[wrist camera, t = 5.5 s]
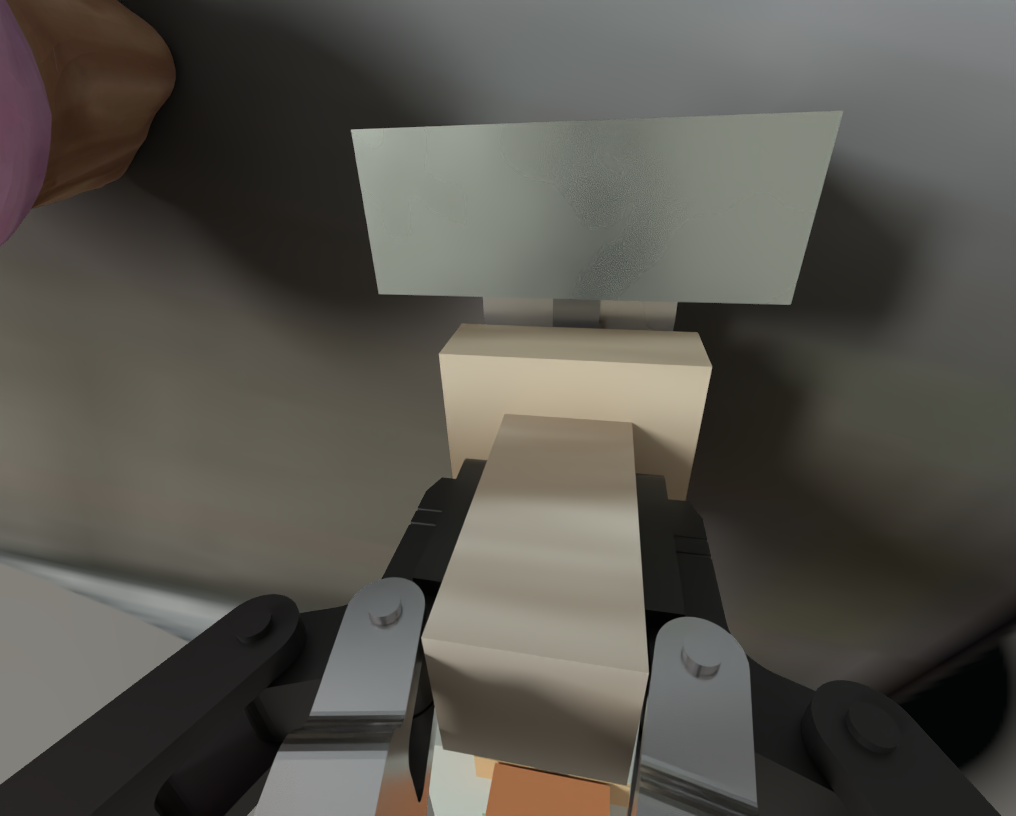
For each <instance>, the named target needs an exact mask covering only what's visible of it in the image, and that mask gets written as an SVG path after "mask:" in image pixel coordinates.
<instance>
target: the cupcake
mask: <svg viewBox="0 0 1016 816" xmlns="http://www.w3.org/2000/svg"><path fill="white" fill-rule="evenodd" d="M175 79H176V77H175V65H174V61H173V58H172V55H171V53H170V50H169V48H168V46H167V45H166V43H165V41H164V40H163V38H162V37H161V36H160V35H159V34H158V33H157V31H156V30H155V29H154V28H153V27H152V26H151V25H149V24H148V23H147V22H146V21H144V20H143V19H142V18H140V17H139V16H138V15H136V14H135V13H133V12H132V11H130V10H129V9H128V8H126V7H125V6H124V5H123V4H121V3H120V2H119V1H118V0H0V246H1V245H2V244H3V243H5V242H6V241H7V240H8V239H9V238H10V237H11V235H12V234H13V233H14V232H15V231H16V229H17V228H18V226H19V225H20V223H21V222H22V220H23V219H24V218H25V216H26V215H27V214H28V213H29V211H30V209H32V208H36V207H40V206H44V205H48V204H51V203H55V202H58V201H62V200H66V199H68V198H70V197H72V196H74V195H77V194H79V193H82V192H85V191H89V190H94V189H98V188H101V187H103V186H104V185H106V184H108V183H111V182H113V181H116V180H117V179H119V178H121V177H122V175H123V174H124V173H125V172H126V170H127V168H128V167H129V165H130V163H131V162H132V160H133V158H134V156H135V154H136V152H137V151H138V149H139V148H140V146H141V145H142V143H143V142H144V141H145V139H146V138H147V135H148V131H149V128H150V125H151V122H152V120H153V118H154V116H155V114H156V113H157V111H158V110H159V109H160V108H161V106H162V105H163V104H164V103H165V101H166V100H167V99H168V98H169V96H170V95H171V92H172V90H173V88H174V84H175Z"/></svg>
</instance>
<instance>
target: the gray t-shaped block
mask: <svg viewBox="0 0 1016 816" xmlns="http://www.w3.org/2000/svg"><path fill="white" fill-rule="evenodd" d="M842 114H843V111H824V112H797V113H771V114H745V115H719V116H693V117H667V118H641V119H614V120H588V121H562V122H536V123H510V124H484V125H457V126H431V127H405V128H379V129H353V130H351V133H352V139H353V145H354V151H355V157H356V163H357V168H358V174H359V180H360V186H361V192H362V198H363V204H364V210H365V216H366V222H367V228H368V234H369V239H370V245H371V251H372V257H373V263H374V269H375V275H376V281H377V287H378V293H379V294H394V295H433V296H471V297H483V306H484V323H485V325H512V326H539V327H567V328H594V329H622V330H650V331H673V330H674V323H675V317H676V310H677V303H678V302H703V303H741V304H780V305H791V302H792V298H793V294H794V291H795V287H796V283H797V280H798V276H799V272H800V269H801V265H802V261H803V258H804V254H805V250H806V247H807V243H808V239H809V236H810V232H811V228H812V225H813V221H814V217H815V214H816V210H817V206H818V202H819V199H820V195H821V191H822V188H823V184H824V180H825V177H826V173H827V169H828V166H829V162H830V158H831V155H832V151H833V147H834V144H835V140H836V136H837V133H838V129H839V125H840V122H841V118H842Z"/></svg>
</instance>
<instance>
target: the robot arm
mask: <svg viewBox="0 0 1016 816" xmlns="http://www.w3.org/2000/svg"><path fill="white" fill-rule="evenodd" d="M486 462H487V460H481V459H469V458H466V459H465V460H464V462H463V464H462V466H461V469H460V471H459V473H458V475H457V478H456V479H451V478H441V479H440V480H439V481H437V482H436V483H435V484H434V485H433V486H432V487H430V488H429V489H428V490H427V491H426V493H425V495H424V497H423V498H422V500H421V502H420V504H419V506H418V511H416V512H415V514H414V516H413V518H412V520H411V525H409V526H408V528H407V530H406V532H405V534H404V536H403V538H402V540H401V542H400V544H399V546H398V548H397V550H396V552H395V554H394V556H393V558H392V560H391V562H390V564H389V566H388V567H387V569H386V571H385V573H384V575H383V577H382V579H380V580H377V581H374V582H372V583H370V584H368V585H367V586H365V587H364V588H362V589H361V590H360V591H359V592H358V593H356V595H355V596H354V597H353V598H352V599H351V601H350V603H349V604H347V605H344V606H341V607H336V608H330V609H324V610H317V611H311V612H305V613H299V610H298V608H297V606H296V604H295V602H294V601H292V600H291V599H290V598H288V597H286V596H283V595H277V594H270V595H263V596H259V597H256V598H253V599H251V600H248V601H246V602H244V603H243V604H241V605H239V606H238V607H236V608H235V609H233V610H232V611H231V612H229V613H228V614H227V615H225V616H224V617H223V618H221V619H220V620H219V621H217V622H216V623H215V624H213V625H212V626H211V627H209V628H208V629H207V630H205V631H204V632H203V633H201V634H200V635H199V636H197V637H196V638H195V639H193V640H192V641H191V642H189V643H188V644H187V645H185V646H184V647H183V648H181V649H180V650H179V651H177V652H176V653H175V654H174V655H172V656H171V657H170V658H168V659H167V660H165V661H164V662H163V663H161V664H160V665H159V666H157V667H156V668H155V669H154V670H152V671H151V672H150V673H148V674H147V675H146V676H144V677H143V678H142V679H140V680H139V681H138V682H136V683H135V684H134V685H132V686H131V687H130V688H128V689H127V690H126V691H124V692H123V693H122V694H120V695H119V696H118V697H116V698H115V699H114V700H113V701H111V702H110V703H108V704H107V705H106V706H104V707H103V708H102V709H100V710H99V711H98V712H96V713H95V714H94V715H92V716H91V717H90V718H89V719H87V720H86V721H84V722H83V723H82V724H81V725H79V726H78V727H77V728H75V729H74V730H72V731H71V732H70V733H68V734H67V735H66V736H65V737H63V738H62V739H60V740H59V741H58V742H57V743H55V744H54V745H53V746H51V747H50V748H49V749H47V750H46V751H45V752H43V753H42V754H41V755H39V756H38V757H37V758H35V759H34V760H33V761H32V762H30V763H29V764H27V765H26V766H25V767H24V768H22V769H21V770H19V771H18V772H17V773H15V774H14V775H13V776H11V777H10V778H9V779H7V780H6V781H5V782H3V783H2V784H1V785H0V816H247V815H248V814H249V813H250V812H251V811H252V809H253V808H254V807H255V806H256V805H257V804H258V805H257V807H256V810H255V813H254V815H253V816H427V802H428V794H429V786H430V778H431V770H432V762H433V754H434V746H435V738H436V730H437V722H438V721H437V716H436V710H435V705H434V700H433V695H432V690H431V685H430V680H429V675H428V669H427V664H426V659H425V654H424V649H423V644H422V639H421V637H422V634H423V632H424V629H425V626H426V624H427V621H428V618H429V616H430V613H431V610H432V608H433V605H434V602H435V599H436V597H437V594H438V591H439V589H440V586H441V583H442V581H443V578H444V575H445V573H446V570H447V567H448V565H449V562H450V559H451V556H452V554H453V551H454V548H455V546H456V543H457V540H458V538H459V535H460V532H461V530H462V527H463V524H464V522H465V519H466V516H467V513H468V511H469V508H470V505H471V503H472V500H473V497H474V495H475V492H476V489H477V487H478V484H479V481H480V479H481V476H482V473H483V471H484V468H485V465H486ZM635 475H636V490H637V505H638V519H639V534H640V549H641V564H642V578H643V593H644V608H645V622H646V637H647V652H648V667H649V675H648V680H647V686H646V691H645V696H644V701H643V706H642V711H641V716H640V722H639V727H638V732H637V740H636V747H635V754H634V762H633V769H632V777H631V784H630V792H629V799H628V807H627V814H626V816H1001V815H1000V814H999V813H998V812H997V811H996V810H995V809H994V807H993V806H992V805H991V804H990V803H989V802H988V801H987V800H986V799H985V797H983V795H982V794H981V793H980V792H979V791H978V790H977V789H976V788H975V787H974V785H973V784H972V783H971V782H970V781H969V780H968V779H967V778H966V777H965V776H964V774H963V773H962V772H961V771H960V770H959V769H958V768H957V767H956V766H955V765H954V763H953V762H952V761H951V760H950V759H949V758H948V757H947V756H946V755H945V754H944V753H943V752H942V750H941V749H940V748H939V747H938V746H937V745H936V744H935V743H934V742H933V740H932V739H931V738H930V737H929V736H928V735H927V734H926V733H925V732H924V731H923V730H922V729H921V727H920V726H919V725H918V724H917V723H916V722H915V721H914V720H913V719H912V717H910V716H909V714H907V712H905V711H904V710H903V709H902V708H901V707H900V706H899V705H898V704H896V703H895V702H894V701H892V700H891V699H889V698H888V697H887V696H885V695H884V694H882V693H880V692H878V691H876V690H875V689H872V688H870V687H868V686H865V685H863V684H859V683H856V682H851V681H845V680H836V681H830V682H827V683H825V684H823V685H822V686H820V687H819V688H818V689H817V690H816V691H814V690H812V689H809V688H807V687H805V686H802V685H800V684H798V683H795V682H793V681H791V680H789V679H786V678H784V677H782V676H779V675H777V674H775V673H773V672H771V671H769V670H767V669H765V668H764V667H762V666H761V665H759V664H758V663H756V662H755V661H754V660H752V659H751V658H750V657H749V656H748V655H747V654H746V653H745V652H744V651H743V649H742V647H741V646H740V645H739V643H738V642H737V641H736V640H735V639H734V637H733V636H732V635H731V633H730V631H729V629H728V626H727V623H726V619H725V615H724V610H723V606H722V602H721V597H720V593H719V589H718V584H717V580H716V576H715V571H714V567H713V563H712V559H711V554H710V550H709V545H708V543H707V537H706V532H705V528H704V524H703V519H702V518H701V517H700V515H699V514H698V513H697V512H696V510H695V509H694V508H693V506H692V505H691V504H690V503H689V501H681V500H670V499H668V495H667V489H666V482H665V477H664V476H663V475H651V474H640V473H635Z"/></svg>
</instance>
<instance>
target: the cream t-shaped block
mask: <svg viewBox="0 0 1016 816" xmlns="http://www.w3.org/2000/svg"><path fill="white" fill-rule="evenodd" d="M439 359H440V368H441V377H442V386H443V395H444V403H445V412H446V421H447V430H448V439H449V448H450V457H451V466H452V475H453V479H456V478H457V475H458V473H459V471H460V469H461V466H462V464H463V462H464V460H465V459H466V458H469V459H481V460H487V462H486V465H485V468H484V471H483V473H482V476H481V479H480V481H479V484H478V487H477V489H476V492H475V495H474V497H473V500H472V503H471V505H470V508H469V511H468V513H467V516H466V519H465V522H464V524H463V527H462V530H461V532H460V535H459V538H458V540H457V543H456V546H455V548H454V551H453V554H452V556H451V559H450V562H449V565H448V567H447V570H446V573H445V575H444V578H443V581H442V583H441V586H440V589H439V591H438V594H437V597H436V599H435V602H434V605H433V608H432V610H431V613H430V616H429V618H428V621H427V624H426V626H425V629H424V632H423V634H422V637H421V639H422V644H423V649H424V654H425V659H426V664H427V669H428V675H429V680H430V685H431V690H432V695H433V700H434V705H435V710H436V716H437V721H438V726H439V731H440V736H441V741H442V746H443V750H449V751H454V752H459V753H464V754H469V755H474V756H479V757H484V758H489V759H494V760H499V761H504V762H509V763H514V764H519V765H525V766H530V767H535V768H540V769H545V770H550V771H555V772H560V773H565V774H570V775H575V776H580V777H585V778H590V779H595V780H601V781H606V782H611V783H616V784H621V785H626V786H627V782H628V777H629V772H630V766H631V761H632V756H633V751H634V746H635V741H636V736H637V731H638V726H639V721H640V716H641V711H642V706H643V701H644V696H645V691H646V686H647V680H648V675H649V667H648V652H647V637H646V622H645V608H644V593H643V578H642V564H641V549H640V534H639V519H638V505H637V490H636V475H635V473H640V474H651V475H663V476H664V477H665V482H666V489H667V495H668V499H670V500H681V501H685V500H686V495H687V490H688V485H689V480H690V475H691V470H692V465H693V460H694V455H695V450H696V445H697V440H698V435H699V431H700V426H701V421H702V416H703V411H704V406H705V401H706V396H707V391H708V386H709V381H710V376H711V371H712V365H711V363H710V360H709V358H708V355H707V353H706V351H705V348H704V346H703V343H702V341H701V339H700V336H699V334H698V332H677V331H650V330H622V329H594V328H567V327H539V326H512V325H484V324H461V325H460V327H459V328H458V329H457V331H456V332H455V333H454V335H453V336H452V337H451V339H450V340H449V341H448V343H447V344H446V345H445V346H444V348H443V349H442V350H441V352H440V353H439Z"/></svg>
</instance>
